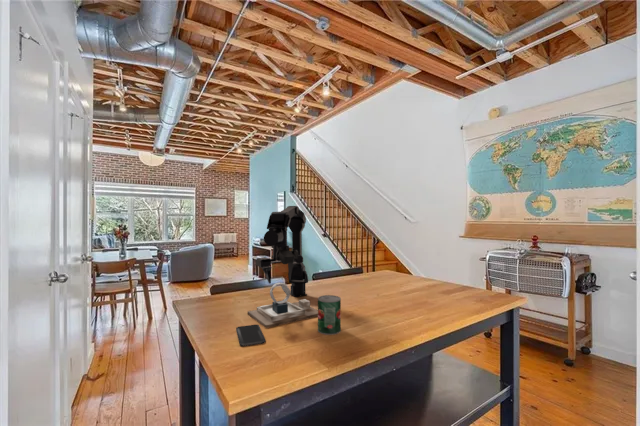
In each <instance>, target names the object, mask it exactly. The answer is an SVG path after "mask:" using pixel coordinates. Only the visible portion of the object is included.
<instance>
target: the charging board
mask: <svg viewBox="0 0 640 426" xmlns="http://www.w3.org/2000/svg"><path fill="white" fill-rule="evenodd" d="M285 303H287V304H288V312H286V313H280V314H277V313H276V312H274V311H273V310H272V303H271V304H266V305H261V306H260V305H259V306H257V307H256V309H254V310H249V311H247V315H248V316H249V317H250V318H252V319H254V320H255V321H256V322H257V323H259V324H260V325H261V326H262V327H264V328H266V329H269V328H274V327H277V326H281V325H285V324H286V325H287V324H289V323H295V322H299V321H303V320H308V319H311V318H316V317H317V318H318V309H316V308H314V307H312V306H311V301H310V300H308V299H306V298H303V299H298V301H296V302H290V301H288V300H287V301H286V302H285Z"/></svg>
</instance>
